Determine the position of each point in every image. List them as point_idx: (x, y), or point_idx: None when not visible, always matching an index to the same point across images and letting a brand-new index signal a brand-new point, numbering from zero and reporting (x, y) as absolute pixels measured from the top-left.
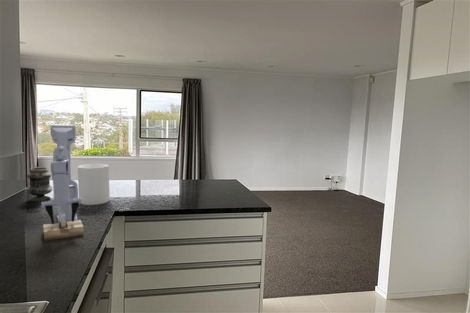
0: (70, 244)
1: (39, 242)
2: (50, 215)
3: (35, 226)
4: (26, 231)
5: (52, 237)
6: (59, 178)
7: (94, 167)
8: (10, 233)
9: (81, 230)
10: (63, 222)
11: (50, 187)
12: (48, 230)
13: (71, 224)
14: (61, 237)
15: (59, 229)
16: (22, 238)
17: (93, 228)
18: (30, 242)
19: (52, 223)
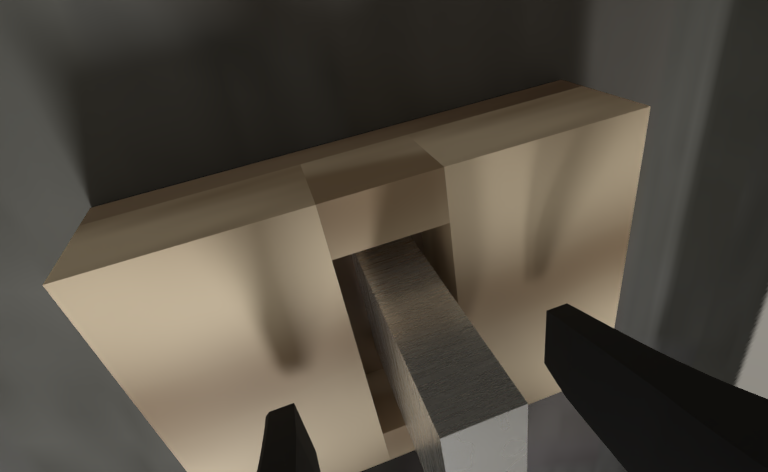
0: None
1: (609, 40)
2: (738, 401)
3: (586, 427)
4: (649, 345)
5: (494, 106)
6: None
7: None
8: (734, 316)
9: (103, 234)
10: (428, 326)
11: None
12: (589, 172)
13: (305, 375)
14: (385, 130)
15: (451, 186)
16: (704, 203)
17: (40, 408)
18: (678, 71)
19: (575, 308)
